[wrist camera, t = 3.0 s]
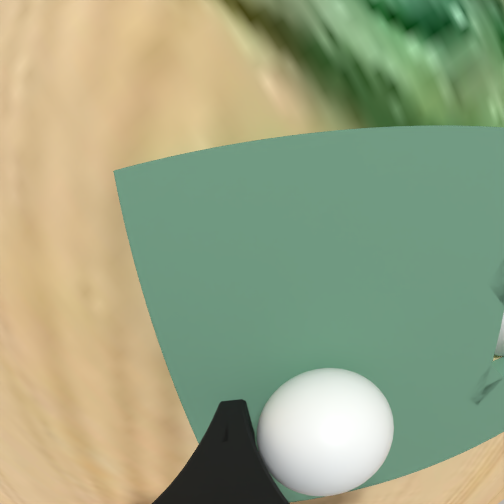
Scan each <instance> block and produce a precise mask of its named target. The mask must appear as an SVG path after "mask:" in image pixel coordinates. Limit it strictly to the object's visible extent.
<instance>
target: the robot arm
mask: <svg viewBox="0 0 504 504" xmlns="http://www.w3.org/2000/svg"><path fill="white" fill-rule="evenodd" d="M152 504H290V503H289V502H288V501H287V499H286V498H285V497H284V495H283V494H282V492H281V491H280V489H279V488H278V486H277V485H276V483H275V482H274V480H273V478H272V476H271V475H270V473H269V471H268V469H267V468H266V466H265V464H264V462H263V460H262V458H261V456H260V454H259V451H258V449H257V447H256V442H255V433H254V429H253V426H252V422H251V418H250V415H249V411H248V407H247V403H246V401H245V400H243V399H238V400H229V401H221V402H220V403H219V405H218V408H217V410H216V412H215V414H214V417H213V419H212V421H211V423H210V425H209V427H208V429H207V431H206V433H205V434H204V436H203V438H202V440H201V442H200V443H199V445H198V447H197V448H196V450H195V452H194V453H193V455H192V456H191V458H190V459H189V461H188V462H187V464H186V465H185V467H184V468H183V469H182V471H181V472H180V473H179V475H178V476H177V477H176V478H175V479H174V481H173V482H172V483H171V484H170V485H169V487H168V488H167V489H166V490H165V491H164V492H163V493H162V494H161V495H160V496H159V497H158V498H157V499H156V500H155V501H154V502H153V503H152Z"/></svg>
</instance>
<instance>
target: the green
mask: <svg viewBox="0 0 504 504" xmlns="http://www.w3.org/2000/svg"><path fill="white" fill-rule="evenodd" d="M114 176H115V181H116V186H117V191H118V196H119V200H120V205H121V210H122V214H123V219H124V223H125V227H126V231H127V235H128V239H129V243H130V247H131V251H132V255H133V259H134V263H135V266H136V270H137V274H138V277H139V281H140V284H141V288H142V291H143V294H144V298H145V301H146V304H147V308H148V311H149V314H150V317H151V320H152V323H153V327H154V330H155V333H156V336H157V339H158V341H159V344H160V347H161V350H162V353H163V356H164V359H165V361H166V364H167V367H168V370H169V372H170V375H171V378H172V380H173V383H174V386H175V388H176V391H177V393H178V396H179V398H180V401H181V403H182V406H183V408H184V411H185V413H186V415H187V418H188V420H189V423H190V425H191V427H192V429H193V432H194V434H195V436H196V439H197V441H198V443H200V442H201V440H202V438H203V436H204V434H205V433H206V431H207V429H208V427H209V425H210V423H211V421H212V419H213V417H214V414H215V412H216V410H217V408H218V405H219V403H220V402H221V401H229V400H238V399H243V400H245V401H246V403H247V407H248V411H249V415H250V418H251V422H252V426H253V429H254V433H255V442H256V447H257V426H258V421H259V417H260V415H261V412H262V410H263V408H264V406H265V404H266V403H267V401H268V400H269V398H270V397H271V396H272V394H273V393H274V392H275V391H276V390H277V389H278V388H279V387H280V386H282V385H283V384H284V383H285V382H287V381H288V380H290V379H291V378H293V377H295V376H297V375H299V374H302V373H304V372H307V371H311V370H315V369H320V368H339V369H345V370H348V371H352V372H355V373H357V374H359V375H362V376H363V377H365V378H367V379H368V380H370V381H371V382H372V383H373V384H374V385H376V386H377V387H378V388H379V389H380V391H381V392H382V393H383V395H384V396H385V398H386V399H387V401H388V403H389V406H390V408H391V411H392V415H393V422H394V433H393V441H392V444H391V448H390V451H389V453H388V455H387V457H386V459H385V461H384V462H383V464H382V465H381V467H380V468H379V469H378V471H377V472H376V473H375V474H374V475H373V476H372V477H370V478H369V479H368V480H367V481H366V482H364V483H363V484H361V485H360V486H358V487H356V488H354V489H352V490H350V491H353V490H357V489H361V488H365V487H369V486H372V485H376V484H379V483H383V482H386V481H390V480H393V479H396V478H399V477H402V476H405V475H408V474H411V473H414V472H416V471H419V470H422V469H425V468H427V467H430V466H432V465H435V464H437V463H440V462H442V461H445V460H447V459H449V458H452V457H454V456H456V455H458V454H461V453H463V452H465V451H467V450H469V449H471V448H473V447H475V446H477V445H479V444H481V443H483V442H485V441H487V440H489V439H491V438H493V437H495V436H497V435H498V434H500V433H502V432H504V357H501V358H499V359H497V360H495V361H493V357H494V355H497V356H504V128H501V127H482V126H399V127H378V128H362V129H349V130H337V131H327V132H317V133H308V134H300V135H292V136H284V137H277V138H269V139H263V140H256V141H250V142H244V143H238V144H232V145H226V146H221V147H215V148H210V149H205V150H200V151H195V152H190V153H185V154H180V155H176V156H171V157H167V158H163V159H158V160H154V161H150V162H146V163H142V164H138V165H134V166H130V167H126V168H122V169H118V170H115V171H114ZM492 361H493V362H492ZM257 449H258V447H257ZM270 475H271V474H270ZM271 476H272V475H271ZM272 478H273V480H274V482H275V483H276V485H277V486H278V488H279V489H280V491H281V492H282V494H283V495H284V497H285V498H286V499H287V501H288V502H296V501H302V500H309V499H315V498H320V497H325V496H310V495H305V494H301V493H298V492H295V491H293V490H291V489H289V488H287V487H285V486H283V485H282V484H281V483H279V482H278V481H277V480H276V479H275V478H274V477H273V476H272ZM347 492H349V491H347Z"/></svg>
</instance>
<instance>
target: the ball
mask: <svg viewBox="0 0 504 504" xmlns="http://www.w3.org/2000/svg"><path fill="white" fill-rule="evenodd" d="M393 433H394V422H393V415H392V411H391V408H390V406H389V403H388V401H387V399H386V398H385V396H384V395H383V393H382V392H381V391H380V389H379V388H378V387H377V386H376V385H374V384H373V383H372V382H371V381H370V380H368V379H367V378H365V377H363V376H362V375H359V374H357V373H355V372H352V371H348V370H345V369H339V368H320V369H315V370H311V371H307V372H304V373H302V374H299V375H297V376H295V377H293V378H291V379H290V380H288V381H287V382H285V383H284V384H283V385H282V386H280V387H279V388H278V389H277V390H276V391H275V392H274V393H273V394H272V396H271V397H270V398H269V400H268V401H267V403H266V404H265V406H264V408H263V410H262V412H261V415H260V417H259V421H258V426H257V447H258V451H259V454H260V456H261V458H262V460H263V462H264V464H265V466H266V468H267V469H268V471H269V473H270V474H271V475H272V476H273V477H274V478H275V479H276V480H277V481H278V482H279V483H281V484H282V485H283V486H285V487H287V488H289V489H291V490H293V491H295V492H298V493H301V494H305V495H310V496H332V495H337V494H341V493H344V492H347V491H350V490H352V489H354V488H356V487H358V486H360V485H361V484H363V483H364V482H366V481H367V480H368V479H369V478H370V477H372V476H373V475H374V474H375V473H376V472H377V471H378V469H379V468H380V467H381V465H382V464H383V462H384V461H385V459H386V457H387V455H388V453H389V451H390V448H391V444H392V441H393Z"/></svg>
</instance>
